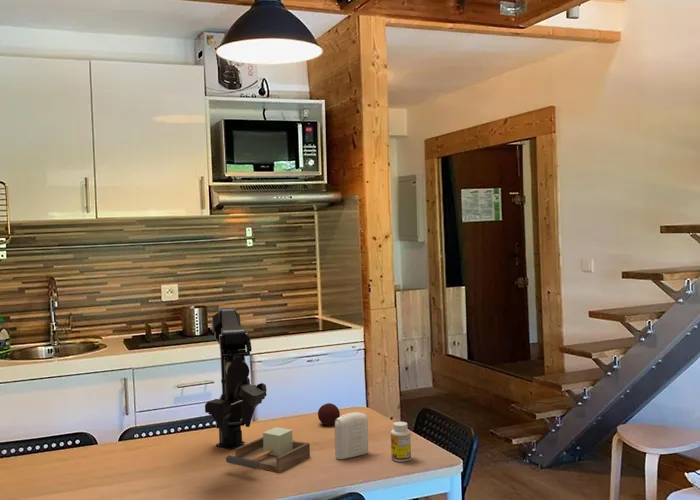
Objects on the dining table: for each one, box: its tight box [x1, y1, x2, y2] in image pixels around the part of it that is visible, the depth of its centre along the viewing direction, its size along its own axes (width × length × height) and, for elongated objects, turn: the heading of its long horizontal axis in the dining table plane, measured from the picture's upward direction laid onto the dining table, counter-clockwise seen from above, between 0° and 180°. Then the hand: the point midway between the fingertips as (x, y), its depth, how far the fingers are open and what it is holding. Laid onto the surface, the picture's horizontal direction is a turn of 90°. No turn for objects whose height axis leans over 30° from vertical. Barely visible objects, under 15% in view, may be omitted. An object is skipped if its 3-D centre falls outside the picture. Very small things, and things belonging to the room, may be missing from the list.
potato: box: [317, 402, 341, 426], centre depth 228 cm, size 7×8×7 cm
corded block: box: [225, 426, 293, 470], centre depth 191 cm, size 10×20×6 cm, turn 147°
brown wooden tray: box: [234, 436, 311, 473], centre depth 195 cm, size 16×14×4 cm
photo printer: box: [334, 411, 369, 460], centre depth 197 cm, size 10×4×12 cm, turn 123°
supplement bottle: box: [390, 421, 412, 463], centre depth 192 cm, size 6×6×10 cm
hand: (236, 431), depth 186 cm, fingers open, 9 cm apart
